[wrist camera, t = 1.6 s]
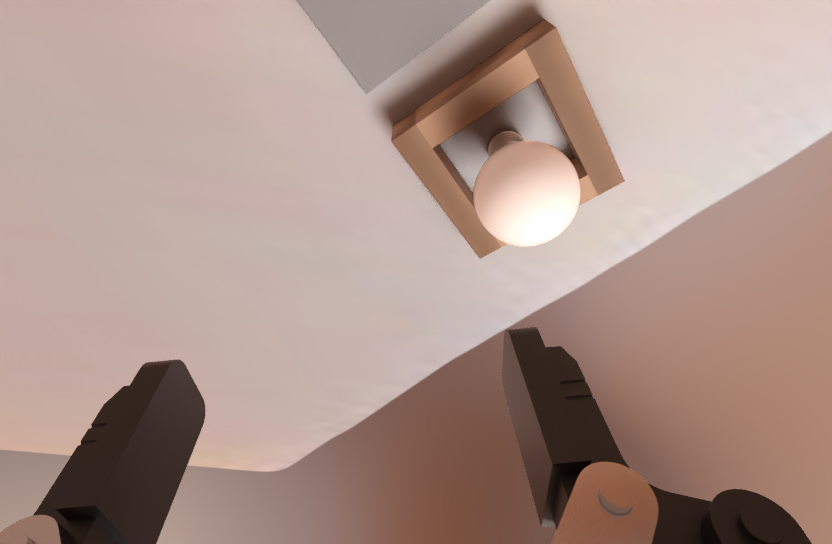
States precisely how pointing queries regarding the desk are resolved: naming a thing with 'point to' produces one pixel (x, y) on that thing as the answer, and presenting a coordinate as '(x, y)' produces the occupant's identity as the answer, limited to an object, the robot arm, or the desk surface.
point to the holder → (481, 92)
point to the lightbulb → (525, 191)
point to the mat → (384, 31)
